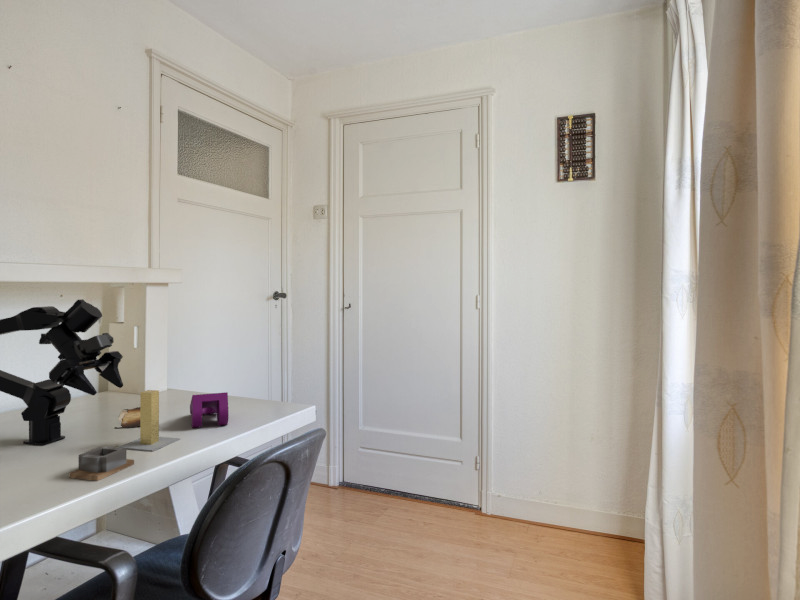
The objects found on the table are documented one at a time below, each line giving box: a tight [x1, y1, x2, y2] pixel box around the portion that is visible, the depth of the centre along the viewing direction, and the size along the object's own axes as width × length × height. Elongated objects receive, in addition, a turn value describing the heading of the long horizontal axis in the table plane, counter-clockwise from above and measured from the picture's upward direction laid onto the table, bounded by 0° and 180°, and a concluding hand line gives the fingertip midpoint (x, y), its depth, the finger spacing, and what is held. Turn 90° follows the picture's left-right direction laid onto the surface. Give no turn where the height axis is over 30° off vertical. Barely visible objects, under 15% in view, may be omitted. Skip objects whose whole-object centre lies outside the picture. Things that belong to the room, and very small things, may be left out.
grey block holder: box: [68, 446, 135, 482], centre depth 108 cm, size 7×10×4 cm
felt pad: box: [118, 436, 181, 452], centre depth 126 cm, size 10×10×1 cm
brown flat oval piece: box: [114, 406, 140, 429], centre depth 152 cm, size 25×10×1 cm, turn 24°
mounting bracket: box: [189, 391, 229, 429], centre depth 148 cm, size 9×8×18 cm
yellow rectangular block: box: [139, 389, 160, 445], centre depth 126 cm, size 3×3×13 cm
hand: (109, 390), depth 125 cm, fingers open, 9 cm apart
